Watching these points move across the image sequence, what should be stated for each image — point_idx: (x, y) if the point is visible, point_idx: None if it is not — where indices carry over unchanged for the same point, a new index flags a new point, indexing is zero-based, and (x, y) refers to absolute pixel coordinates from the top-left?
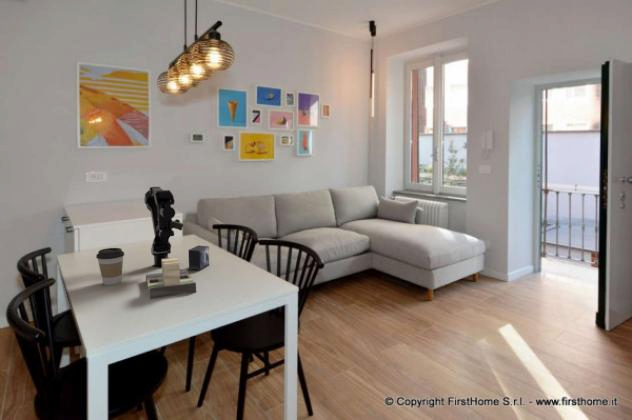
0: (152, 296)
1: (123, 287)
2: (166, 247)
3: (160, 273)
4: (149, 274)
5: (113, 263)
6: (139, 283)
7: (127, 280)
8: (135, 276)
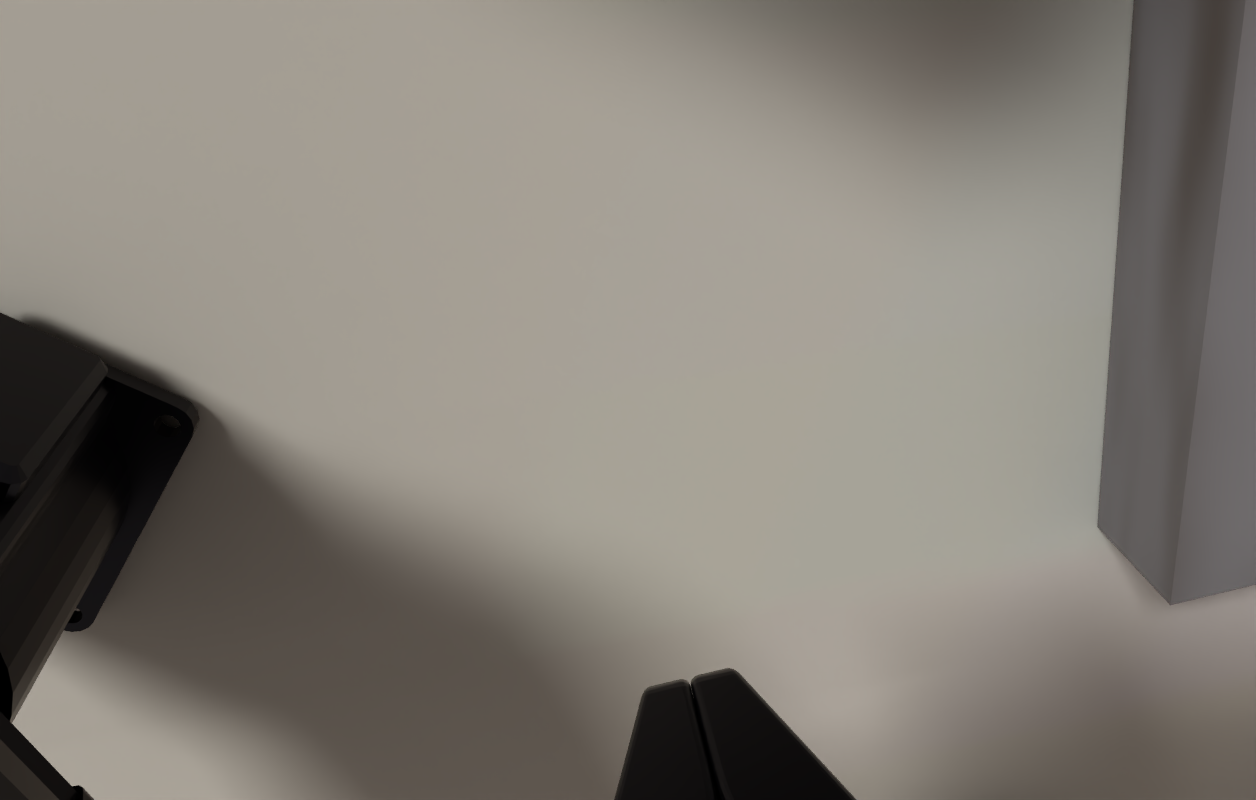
0: None
1: (1239, 725)
2: (743, 701)
3: (1244, 355)
4: (1195, 545)
5: None
6: None
7: (926, 761)
8: None
